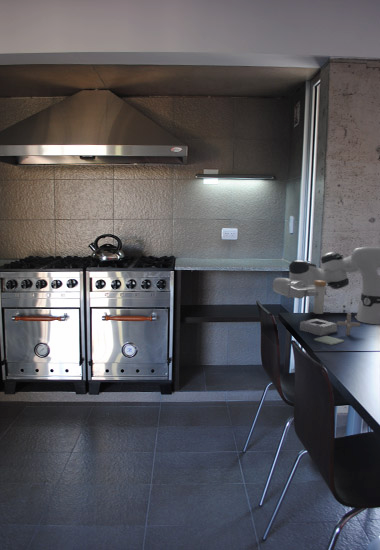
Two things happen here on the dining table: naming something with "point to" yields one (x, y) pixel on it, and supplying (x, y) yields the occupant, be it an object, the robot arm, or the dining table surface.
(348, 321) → the pipe connector
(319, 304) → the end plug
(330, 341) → the rubber mat
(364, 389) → the dining table surface
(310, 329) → the housing block
